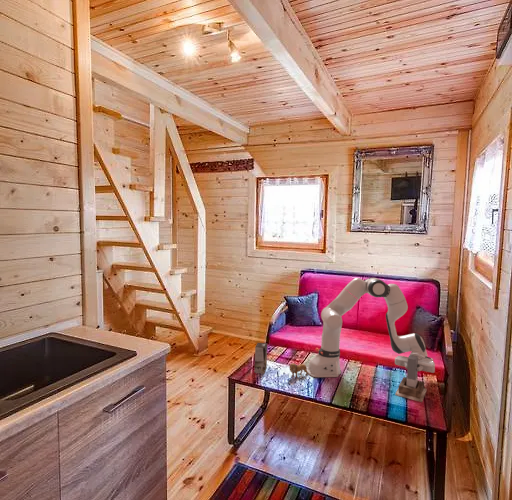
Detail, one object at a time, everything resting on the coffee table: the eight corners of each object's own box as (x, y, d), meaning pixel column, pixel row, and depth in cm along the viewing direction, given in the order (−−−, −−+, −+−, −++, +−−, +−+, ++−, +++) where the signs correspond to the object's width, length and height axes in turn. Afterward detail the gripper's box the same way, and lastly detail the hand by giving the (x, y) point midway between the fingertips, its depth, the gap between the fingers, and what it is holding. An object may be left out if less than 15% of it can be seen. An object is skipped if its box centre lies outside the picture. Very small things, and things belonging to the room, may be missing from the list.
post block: (395, 394, 176) (395, 385, 176) (401, 384, 190) (401, 375, 189) (422, 402, 169) (422, 392, 169) (426, 390, 182) (426, 381, 182)
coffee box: (264, 374, 199) (265, 347, 198) (254, 372, 200) (254, 346, 200) (267, 368, 208) (267, 343, 207) (257, 367, 209) (257, 342, 209)
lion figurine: (293, 380, 191) (293, 365, 190) (286, 377, 195) (287, 362, 194) (310, 374, 200) (310, 359, 200) (303, 371, 204) (303, 357, 204)
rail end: (406, 385, 177) (407, 358, 177) (408, 380, 183) (409, 354, 183) (415, 387, 175) (416, 360, 174) (417, 382, 181) (418, 356, 180)
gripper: (397, 351, 195) (392, 358, 184) (436, 359, 184) (433, 367, 172) (397, 361, 195) (391, 369, 184) (435, 370, 184) (433, 379, 172)
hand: (412, 368), depth 178 cm, fingers closed on rail end, 4 cm apart
